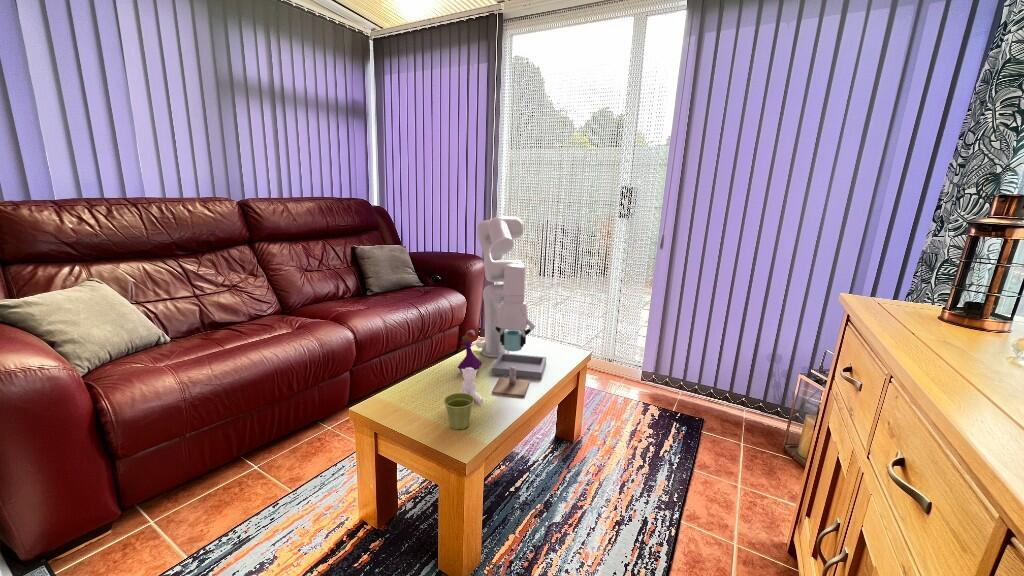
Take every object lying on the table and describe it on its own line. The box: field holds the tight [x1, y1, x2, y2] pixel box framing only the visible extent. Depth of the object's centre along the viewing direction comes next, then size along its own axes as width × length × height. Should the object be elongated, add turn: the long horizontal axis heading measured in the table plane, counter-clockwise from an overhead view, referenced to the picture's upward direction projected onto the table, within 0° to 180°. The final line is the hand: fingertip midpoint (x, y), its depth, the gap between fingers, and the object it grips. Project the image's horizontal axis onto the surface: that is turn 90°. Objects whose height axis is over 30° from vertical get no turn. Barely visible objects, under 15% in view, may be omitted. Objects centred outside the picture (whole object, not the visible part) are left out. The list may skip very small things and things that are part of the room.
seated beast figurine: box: [459, 367, 484, 406], centre depth 145 cm, size 10×9×12 cm
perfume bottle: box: [457, 329, 483, 374], centre depth 166 cm, size 8×8×18 cm
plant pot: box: [443, 392, 475, 430], centre depth 129 cm, size 9×9×9 cm
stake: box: [491, 366, 531, 398], centre depth 154 cm, size 12×12×8 cm
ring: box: [504, 329, 523, 352], centre depth 154 cm, size 7×8×6 cm
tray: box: [491, 353, 547, 381], centre depth 172 cm, size 20×16×3 cm
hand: (512, 344), depth 154 cm, fingers closed on ring, 6 cm apart
